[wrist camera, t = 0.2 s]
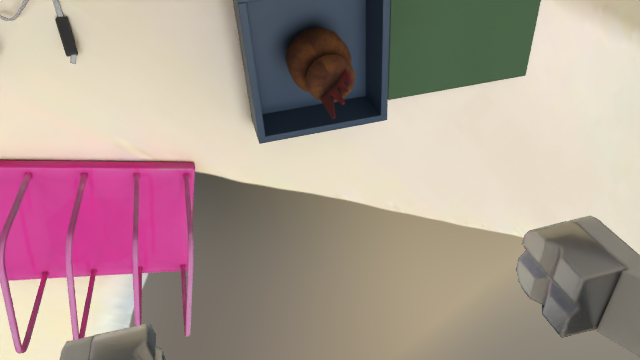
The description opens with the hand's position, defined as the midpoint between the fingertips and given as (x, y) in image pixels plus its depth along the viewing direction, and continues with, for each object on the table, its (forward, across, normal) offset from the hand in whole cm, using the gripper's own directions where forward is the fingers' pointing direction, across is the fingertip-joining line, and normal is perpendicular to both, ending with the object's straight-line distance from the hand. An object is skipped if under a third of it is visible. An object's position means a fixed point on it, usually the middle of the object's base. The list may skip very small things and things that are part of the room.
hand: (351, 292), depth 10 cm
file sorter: (+48, +20, +31) cm, 60 cm away
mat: (+48, -30, +13) cm, 57 cm away
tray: (+48, -10, +13) cm, 50 cm away
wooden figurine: (+47, -10, +13) cm, 50 cm away
